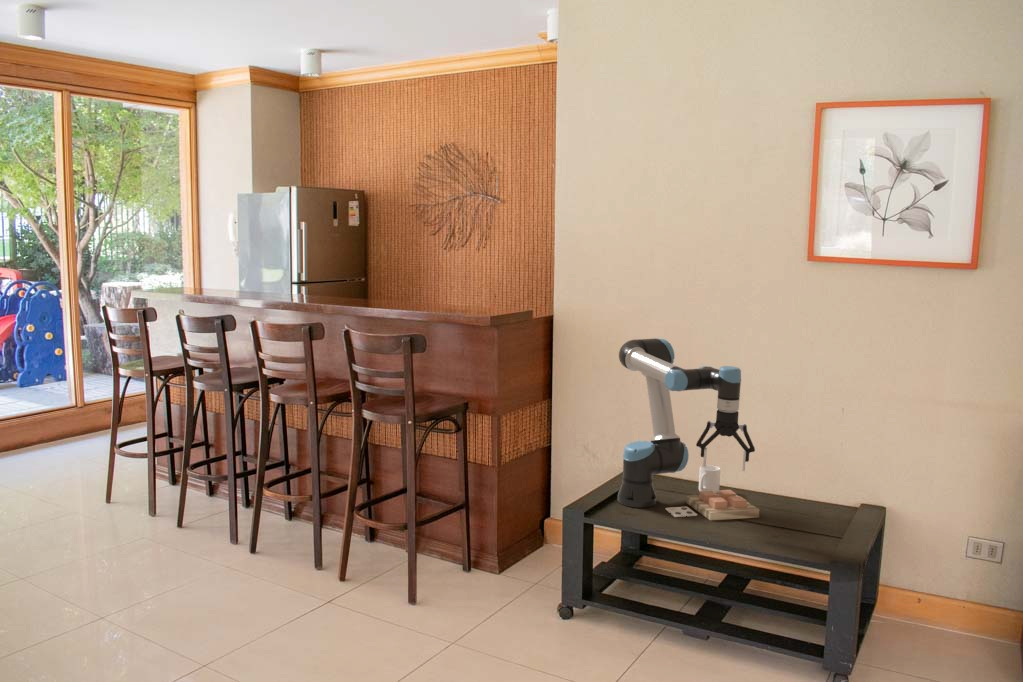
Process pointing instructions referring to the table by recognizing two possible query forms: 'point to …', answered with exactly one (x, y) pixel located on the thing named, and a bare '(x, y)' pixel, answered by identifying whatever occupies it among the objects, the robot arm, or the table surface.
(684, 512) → the card
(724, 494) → the button
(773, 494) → the table surface
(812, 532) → the table surface
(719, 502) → the button
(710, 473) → the cup
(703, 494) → the button
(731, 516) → the board
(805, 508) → the table surface
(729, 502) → the button
